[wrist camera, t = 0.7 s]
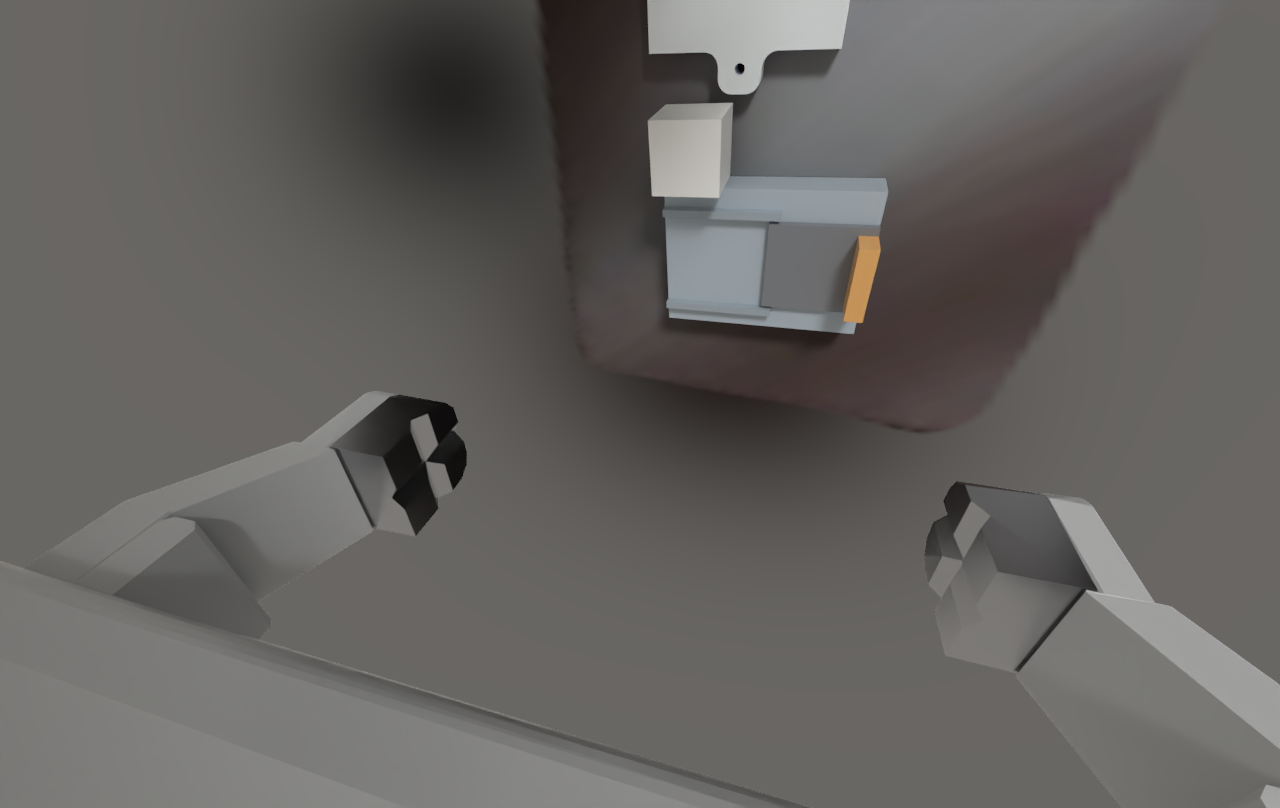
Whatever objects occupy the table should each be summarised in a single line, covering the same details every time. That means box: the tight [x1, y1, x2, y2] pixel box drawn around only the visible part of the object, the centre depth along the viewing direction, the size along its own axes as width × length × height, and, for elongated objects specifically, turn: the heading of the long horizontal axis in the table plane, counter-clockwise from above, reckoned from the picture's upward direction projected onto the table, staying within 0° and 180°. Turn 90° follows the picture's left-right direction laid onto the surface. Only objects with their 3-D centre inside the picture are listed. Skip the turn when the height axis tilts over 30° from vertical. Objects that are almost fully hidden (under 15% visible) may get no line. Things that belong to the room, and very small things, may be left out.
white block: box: [648, 103, 733, 198], centre depth 37 cm, size 5×5×6 cm
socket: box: [662, 176, 888, 334], centre depth 42 cm, size 12×16×4 cm
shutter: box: [761, 221, 881, 323], centre depth 39 cm, size 7×8×3 cm
